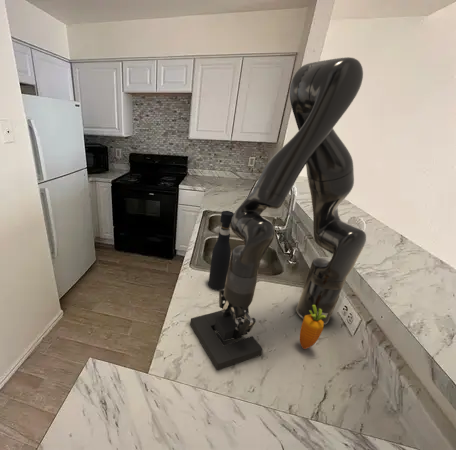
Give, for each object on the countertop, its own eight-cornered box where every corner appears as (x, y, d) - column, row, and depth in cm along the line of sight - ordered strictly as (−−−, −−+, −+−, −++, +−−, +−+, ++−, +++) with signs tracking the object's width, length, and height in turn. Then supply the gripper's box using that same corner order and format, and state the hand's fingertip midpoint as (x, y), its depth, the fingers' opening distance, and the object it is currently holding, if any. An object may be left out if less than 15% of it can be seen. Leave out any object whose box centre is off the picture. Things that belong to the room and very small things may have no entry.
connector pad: (237, 321, 78) (239, 312, 76) (247, 334, 74) (249, 325, 72) (214, 327, 75) (215, 319, 74) (223, 341, 71) (225, 332, 70)
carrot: (316, 357, 70) (333, 317, 63) (296, 354, 71) (311, 314, 64) (310, 342, 74) (325, 303, 68) (291, 339, 75) (305, 300, 68)
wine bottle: (209, 290, 94) (219, 216, 81) (207, 279, 100) (216, 208, 87) (227, 291, 94) (239, 217, 81) (223, 280, 100) (235, 209, 87)
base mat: (228, 313, 84) (229, 308, 83) (261, 355, 70) (263, 348, 69) (190, 324, 80) (190, 318, 79) (217, 370, 66) (218, 363, 65)
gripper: (271, 298, 62) (257, 346, 69) (236, 266, 74) (228, 310, 82) (245, 305, 60) (234, 354, 67) (213, 270, 72) (207, 315, 79)
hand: (231, 329), depth 74 cm, fingers closed on connector pad, 5 cm apart
